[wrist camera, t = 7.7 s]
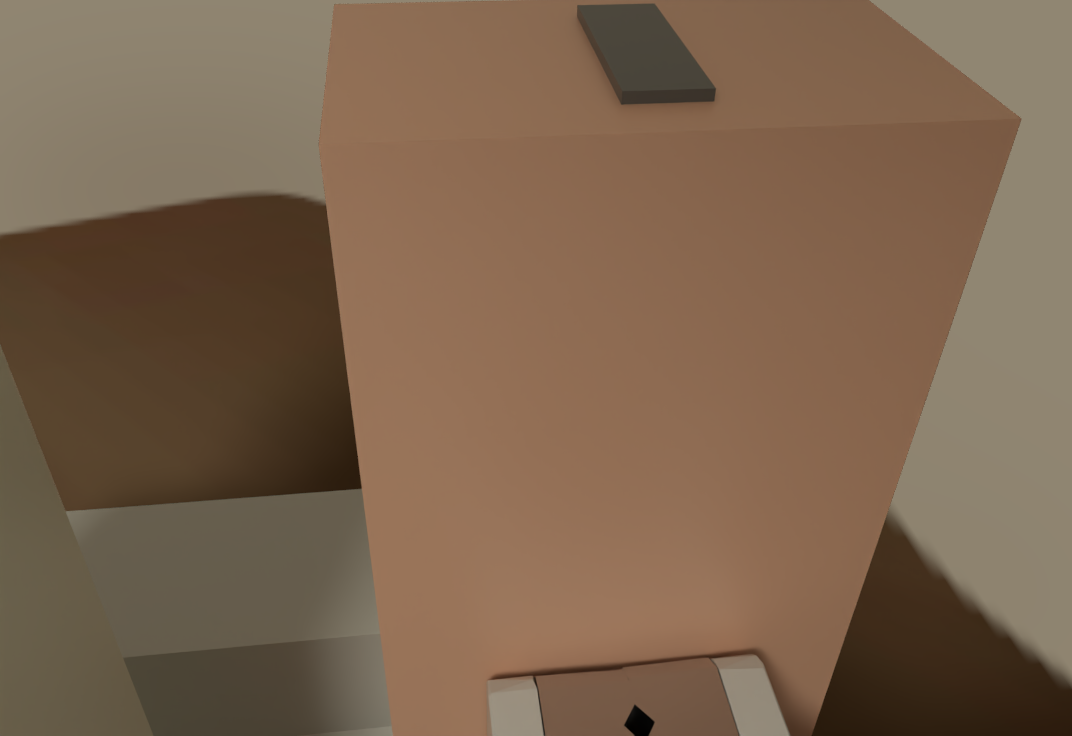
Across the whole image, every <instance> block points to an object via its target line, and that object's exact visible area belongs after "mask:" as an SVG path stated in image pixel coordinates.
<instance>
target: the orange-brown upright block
mask: <svg viewBox="0 0 1072 736" xmlns="http://www.w3.org/2000/svg"><path fill="white" fill-rule="evenodd" d="M1020 122H1021V118H1020V117H1019V116H1017V115H1016V114H1015V113H1013V112H1012V111H1011V110H1009V109H1008V108H1007V107H1005V106H1004V105H1003V104H1002V103H1001V102H999V101H998V100H997V99H995V98H994V97H993V96H991V95H990V94H989V93H988V92H986V91H985V90H984V89H982V88H981V87H980V86H979V85H977V84H976V83H975V82H973V81H972V80H971V79H969V78H968V77H967V76H966V75H964V74H963V73H962V72H961V71H959V70H958V69H957V68H955V67H954V66H953V65H951V64H950V63H949V62H948V61H946V60H945V59H944V58H942V57H941V56H939V55H938V54H937V53H936V52H935V51H933V50H932V49H931V48H929V47H928V46H927V45H926V44H924V43H923V42H922V41H920V40H919V39H918V38H917V37H915V36H914V35H913V34H911V33H910V32H909V31H908V30H906V29H905V28H904V27H902V26H901V25H900V24H898V23H897V22H896V21H895V20H893V19H892V18H891V17H889V16H888V15H887V14H886V13H884V12H883V11H882V10H880V9H879V8H878V7H877V6H875V5H874V4H873V3H871V2H870V1H869V0H515V1H514V0H513V1H466V2H416V3H371V4H368V3H367V4H335V5H334V11H333V20H332V29H331V38H330V47H329V56H328V66H327V74H326V83H325V92H324V102H323V111H322V119H321V128H320V137H319V150H320V159H321V167H322V175H323V183H324V191H325V199H326V207H327V215H328V223H329V231H330V239H331V247H332V255H333V263H334V271H335V279H336V286H337V294H338V302H339V310H340V318H341V326H342V334H343V342H344V350H345V358H346V366H347V374H348V382H349V390H350V398H351V406H352V414H353V422H354V430H355V438H356V446H357V454H358V462H359V470H360V477H361V485H362V493H363V501H364V509H365V517H366V525H367V533H368V541H369V549H370V557H371V565H372V573H373V581H374V589H375V597H376V605H377V613H378V621H379V629H380V637H381V645H382V653H383V661H384V669H385V676H386V684H387V692H388V700H389V708H390V716H391V724H392V732H393V736H487V697H486V682H487V681H488V680H495V679H505V678H515V677H524V676H533V677H534V676H542V675H554V674H565V673H576V672H587V671H598V670H609V669H622V667H629V666H638V665H647V664H655V663H664V662H672V661H681V660H690V659H698V658H707V657H708V658H709V659H710V658H719V657H728V656H736V655H745V654H754V655H756V656H757V657H758V658H759V659H760V660H761V661H762V662H763V664H764V666H765V669H766V672H767V674H768V677H769V680H770V682H771V685H772V688H773V690H774V693H775V696H776V698H777V701H778V704H779V706H780V709H781V712H782V714H783V717H784V720H785V722H786V725H787V727H788V730H789V733H790V735H791V736H812V733H813V730H814V727H815V724H816V721H817V718H818V715H819V712H820V709H821V706H822V703H823V700H824V698H825V695H826V692H827V689H828V686H829V683H830V680H831V677H832V674H833V671H834V668H835V665H836V662H837V659H838V656H839V654H840V651H841V648H842V645H843V642H844V639H845V636H846V633H847V630H848V627H849V624H850V621H851V618H852V615H853V612H854V609H855V607H856V604H857V601H858V598H859V595H860V592H861V589H862V586H863V583H864V580H865V577H866V574H867V571H868V568H869V565H870V562H871V560H872V557H873V554H874V551H875V548H876V545H877V542H878V539H879V536H880V533H881V530H882V527H883V524H884V521H885V518H886V516H887V513H888V510H889V507H890V504H891V501H892V498H893V495H894V492H895V489H896V486H897V483H898V480H899V477H900V474H901V471H902V469H903V465H904V463H905V460H906V457H907V454H908V451H909V448H910V445H911V442H912V439H913V436H914V433H915V430H916V427H917V424H918V421H919V418H920V416H921V413H922V410H923V407H924V404H925V401H926V398H927V395H928V392H929V389H930V386H931V383H932V380H933V378H934V375H935V372H936V368H937V366H938V363H939V360H940V357H941V354H942V351H943V348H944V345H945V342H946V339H947V336H948V333H949V330H950V327H951V325H952V321H953V319H954V316H955V312H956V310H957V307H958V304H959V301H960V298H961V295H962V292H963V289H964V286H965V284H966V280H967V278H968V275H969V272H970V269H971V266H972V263H973V260H974V257H975V254H976V251H977V248H978V245H979V242H980V239H981V237H982V234H983V231H984V228H985V225H986V222H987V219H988V216H989V213H990V210H991V207H992V204H993V201H994V198H995V195H996V193H997V190H998V187H999V184H1000V181H1001V178H1002V175H1003V172H1004V169H1005V166H1006V163H1007V160H1008V157H1009V154H1010V151H1011V149H1012V146H1013V143H1014V140H1015V137H1016V134H1017V131H1018V128H1019V125H1020Z"/></svg>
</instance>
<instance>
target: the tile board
mask: <svg viewBox="0 0 1072 736" xmlns="http://www.w3.org/2000/svg"><path fill="white" fill-rule="evenodd" d="M66 514H67V517H68V519H69V522H70V524H71V527H72V529H73V532H74V534H75V537H76V539H77V542H78V545H79V547H80V550H81V552H82V555H83V557H84V560H85V562H86V565H87V567H88V570H89V573H90V575H91V578H92V580H93V583H94V585H95V588H96V590H97V593H98V596H99V598H100V601H101V603H102V606H103V608H104V611H105V613H106V616H107V618H108V621H109V624H110V626H111V629H112V631H113V634H114V636H115V639H116V641H117V644H118V647H119V649H120V652H121V654H122V657H123V659H124V662H125V664H126V667H127V669H128V672H129V675H130V677H131V680H132V682H133V685H134V687H135V690H136V692H137V695H138V697H139V700H140V703H141V705H142V708H143V710H144V713H145V715H146V718H147V720H148V723H149V726H150V728H151V731H152V733H153V736H393V732H392V724H391V716H390V708H389V700H388V692H387V684H386V676H385V669H384V661H383V653H382V645H381V637H380V629H379V621H378V613H377V605H376V597H375V589H374V581H373V573H372V565H371V557H370V549H369V541H368V533H367V525H366V517H365V509H364V501H363V493H362V489H353V490H340V491H327V492H314V493H301V494H288V495H275V496H262V497H249V498H236V499H223V500H210V501H197V502H184V503H171V504H158V505H145V506H132V507H119V508H106V509H93V510H80V511H67V512H66Z"/></svg>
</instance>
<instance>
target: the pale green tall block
mask: <svg viewBox="0 0 1072 736" xmlns="http://www.w3.org/2000/svg"><path fill="white" fill-rule="evenodd" d="M0 736H153V733H152V731H151V728H150V726H149V723H148V720H147V718H146V715H145V713H144V710H143V708H142V705H141V703H140V700H139V697H138V695H137V692H136V690H135V687H134V685H133V682H132V680H131V677H130V675H129V672H128V669H127V667H126V664H125V662H124V659H123V657H122V654H121V652H120V649H119V647H118V644H117V641H116V639H115V636H114V634H113V631H112V629H111V626H110V624H109V621H108V618H107V616H106V613H105V611H104V608H103V606H102V603H101V601H100V598H99V596H98V593H97V590H96V588H95V585H94V583H93V580H92V578H91V575H90V573H89V570H88V567H87V565H86V562H85V560H84V557H83V555H82V552H81V550H80V547H79V545H78V542H77V539H76V537H75V534H74V532H73V529H72V527H71V524H70V522H69V519H68V517H67V514H66V511H65V509H64V506H63V504H62V501H61V499H60V496H59V494H58V491H57V488H56V486H55V483H54V481H53V478H52V476H51V473H50V471H49V468H48V466H47V463H46V460H45V458H44V455H43V453H42V450H41V448H40V445H39V443H38V440H37V438H36V435H35V432H34V430H33V427H32V425H31V422H30V420H29V417H28V415H27V412H26V409H25V407H24V404H23V402H22V399H21V397H20V394H19V392H18V389H17V387H16V384H15V381H14V379H13V376H12V374H11V371H10V369H9V366H8V364H7V361H6V358H5V356H4V353H3V351H2V348H1V346H0Z"/></svg>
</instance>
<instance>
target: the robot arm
mask: <svg viewBox="0 0 1072 736" xmlns="http://www.w3.org/2000/svg"><path fill="white" fill-rule="evenodd" d="M486 697H487V736H791V735H790V733H789V730H788V727H787V725H786V722H785V720H784V717H783V714H782V712H781V709H780V706H779V704H778V701H777V698H776V696H775V693H774V690H773V688H772V685H771V682H770V680H769V677H768V674H767V672H766V669H765V666H764V664H763V662H762V661H761V660H760V659H759V658H758V657H757V656H756V655H754V654H745V655H736V656H728V657H719V658H710V659H709V658H708V657H707V658H698V659H690V660H681V661H672V662H664V663H655V664H647V665H638V666H629V667H622V669H609V670H598V671H587V672H576V673H565V674H554V675H542V676H534V677H533V676H524V677H515V678H505V679H495V680H488V681H487V682H486Z"/></svg>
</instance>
